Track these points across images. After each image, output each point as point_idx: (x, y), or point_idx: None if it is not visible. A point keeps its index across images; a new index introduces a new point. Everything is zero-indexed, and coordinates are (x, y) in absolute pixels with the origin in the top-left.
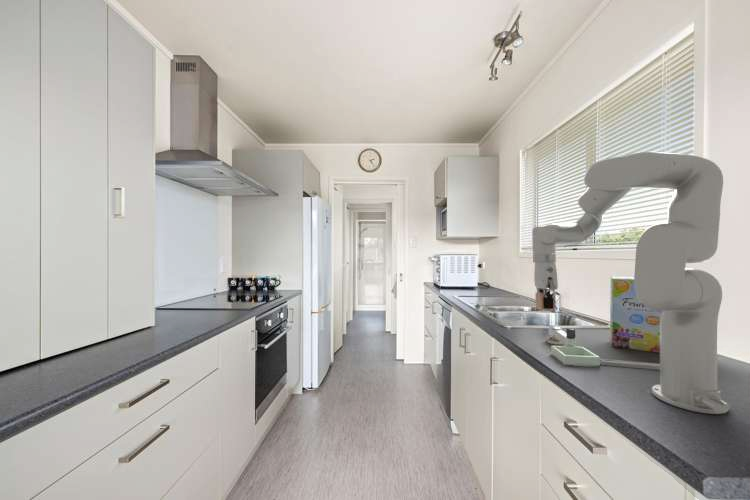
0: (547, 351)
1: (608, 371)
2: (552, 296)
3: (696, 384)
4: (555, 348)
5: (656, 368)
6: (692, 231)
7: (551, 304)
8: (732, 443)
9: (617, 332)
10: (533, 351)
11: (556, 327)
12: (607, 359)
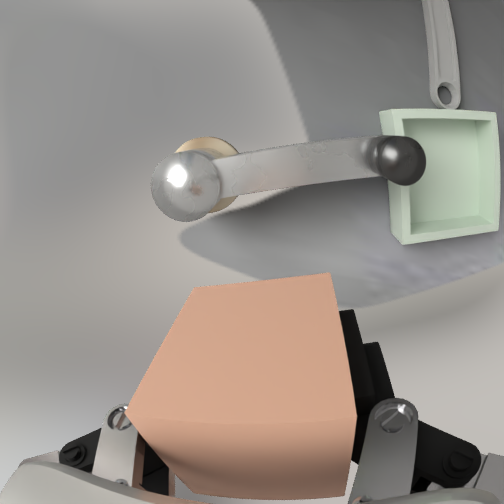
0: (356, 237)
1: (499, 108)
2: (414, 419)
3: None
4: (434, 238)
5: None
6: None
7: (380, 353)
8: None
9: None
10: (365, 287)
11: (188, 181)
12: (436, 59)
